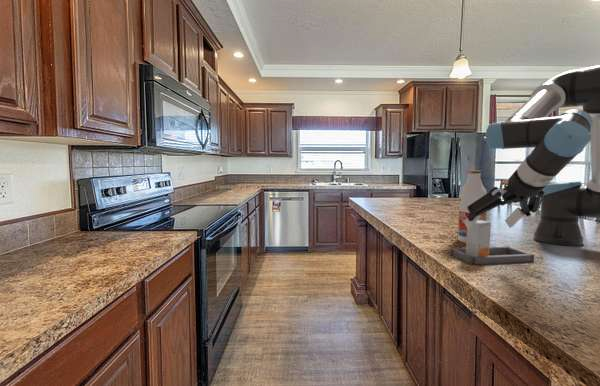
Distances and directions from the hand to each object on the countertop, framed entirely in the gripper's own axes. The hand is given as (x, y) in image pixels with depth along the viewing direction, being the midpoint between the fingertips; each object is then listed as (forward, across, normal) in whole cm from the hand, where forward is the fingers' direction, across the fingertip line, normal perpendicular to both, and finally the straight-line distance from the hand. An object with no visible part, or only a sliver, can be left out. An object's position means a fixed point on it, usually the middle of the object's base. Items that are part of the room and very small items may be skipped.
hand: (487, 224), depth 98 cm
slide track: (+12, +6, -5) cm, 15 cm away
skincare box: (+12, +1, -5) cm, 13 cm away
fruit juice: (+28, +14, +10) cm, 32 cm away
